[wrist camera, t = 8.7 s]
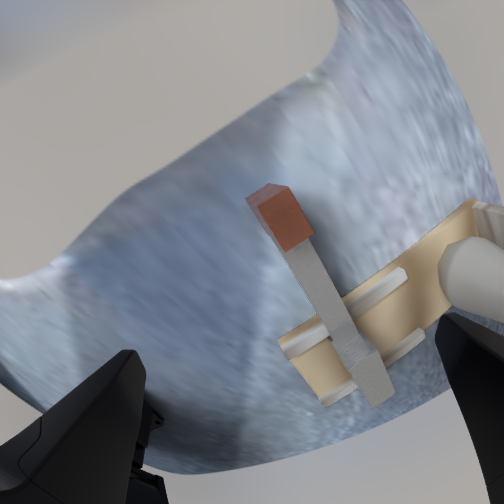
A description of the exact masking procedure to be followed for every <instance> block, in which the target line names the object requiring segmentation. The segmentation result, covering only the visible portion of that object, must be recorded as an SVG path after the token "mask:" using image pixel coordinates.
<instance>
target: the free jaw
mask: <svg viewBox="0 0 504 504" xmlns="http://www.w3.org/2000/svg"><path fill="white" fill-rule="evenodd" d="M245 200H246V201H247V203H248V204H249V206H250V207H251V209H252V211H253V212H254V214H255V215H256V217H257V219H258V220H259V222H260V223H261V225H262V227H263V228H264V230H265V231H266V233H267V234H268V235H269V236H270V237H271V239H272V240H273V242H274V244H275V245H276V247H277V249H278V250H279V252H280V253H281V255H282V257H283V258H284V260H285V262H286V263H287V265H288V266H289V268H290V270H291V271H292V273H293V275H294V276H295V278H296V280H297V281H298V283H299V285H300V286H301V288H302V289H303V291H304V293H305V294H306V296H307V298H308V299H309V301H310V303H311V304H312V306H313V308H314V309H315V311H316V313H317V314H318V316H319V318H320V320H321V321H322V323H323V325H324V326H325V328H326V330H327V331H328V333H329V336H328V337H327V339H328V340H329V342H330V344H331V345H332V347H333V349H334V350H335V352H336V354H337V355H338V357H339V359H340V360H341V362H342V364H343V365H344V367H345V369H346V370H347V372H348V374H349V376H350V377H351V379H352V380H353V382H354V383H355V385H356V386H357V388H358V389H359V391H360V392H361V394H362V395H363V397H364V398H365V400H366V401H367V403H368V404H369V406H370V407H371V409H374V408H375V407H377V406H378V405H380V404H381V403H383V402H384V401H386V400H387V399H388V398H390V397H391V396H393V395H394V394H395V393H396V392H395V389H394V387H393V385H392V382H391V380H390V378H389V375H388V373H387V371H386V368H385V366H384V364H383V361H382V359H381V357H380V355H379V352H378V350H377V349H376V348H375V347H374V346H373V345H372V343H371V342H370V341H369V340H368V339H367V338H366V337H365V336H364V335H363V333H362V332H361V331H360V330H359V329H358V328H357V327H356V326H355V325H354V323H353V321H352V319H351V317H350V315H349V313H348V311H347V309H346V307H345V305H344V303H343V301H342V299H341V297H340V295H339V294H338V292H337V290H336V288H335V286H334V284H333V282H332V280H331V278H330V277H329V275H328V273H327V271H326V269H325V267H324V266H323V264H322V262H321V260H320V258H319V256H318V255H317V253H316V251H315V249H314V247H313V246H312V244H311V242H310V240H309V239H308V238H309V237H310V236H312V235H313V234H315V232H314V231H313V229H312V227H311V225H310V223H309V222H308V220H307V218H306V216H305V215H304V213H303V211H302V209H301V208H300V206H299V204H298V202H297V201H296V199H295V197H294V195H293V194H292V192H291V190H290V189H289V187H287V186H282V185H276V184H270V183H268V184H267V185H265V186H264V187H262V188H260V189H259V190H257V191H256V192H254V193H252V194H251V195H249V196H248V197H246V198H245Z"/></svg>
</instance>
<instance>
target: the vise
mask: <svg viewBox="0 0 504 504" xmlns="http://www.w3.org/2000/svg"><path fill="white" fill-rule="evenodd" d="M471 236H473V237H482V238H486V239H488V240H489V241H491V242H492V243H494V244H496V245H497V246H499V247H500V248H502V249H504V207H502V206H498V205H493V204H489V203H484V202H479V201H478V199H474V198H469V199H468V200H467V201H466V202H464V203H463V204H462V205H461V206H460V207H459V208H458V209H456V210H455V211H454V212H453V213H452V214H451V215H450V216H448V217H447V218H446V219H445V220H444V221H442V222H441V223H440V224H439V225H438V226H437V227H435V228H434V229H433V230H432V231H430V232H429V233H428V234H427V235H426V236H424V237H423V238H422V239H421V240H419V241H418V242H417V243H416V244H414V245H413V246H412V247H411V248H409V249H408V250H407V251H405V252H404V253H403V254H402V255H400V256H399V257H398V258H396V259H395V260H394V261H392V262H391V263H390V264H388V265H387V266H386V267H384V268H383V269H382V270H380V271H379V272H378V273H376V274H375V275H374V276H372V277H371V278H369V279H368V280H367V281H365V282H364V283H362V284H361V285H360V286H358V287H357V288H355V289H354V290H353V291H351V292H350V293H348V294H347V295H345V296H344V297H342V298H341V299H342V301H343V303H344V305H345V307H346V309H347V311H348V313H349V315H350V317H351V319H352V321H353V323H354V325H355V326H356V327H357V328H358V329H359V330H360V331H361V332H362V333H363V335H364V336H365V337H366V338H367V339H368V340H369V341H370V342H371V343H372V345H373V346H374V347H375V348H376V349H377V350H378V352H379V355H380V357H381V359H382V361H383V364H384V366H385V368H387V367H389V366H390V365H392V364H393V363H394V362H396V361H397V360H398V359H400V358H401V357H402V356H403V355H405V354H406V353H407V352H409V351H410V350H411V349H412V348H414V347H415V346H416V345H417V344H419V343H420V342H421V341H422V340H423V339H425V338H426V336H425V333H424V330H425V329H426V328H427V327H429V326H430V325H431V324H432V323H433V322H434V321H436V320H437V319H438V318H439V317H440V316H441V315H442V314H443V313H445V312H446V311H447V310H448V309H449V308H450V307H451V306H452V304H451V303H450V302H449V301H448V300H447V298H446V296H445V294H444V292H443V290H442V288H441V286H440V285H439V277H438V268H437V264H438V262H439V260H440V258H441V256H442V254H443V252H444V250H445V248H446V246H447V244H451V243H455V242H457V241H460V240H463V239H465V238H468V237H471ZM328 336H329V333H328V331H327V330H326V328H325V326H324V325H323V323H322V321H321V320H320V318H319V316H318V314H317V315H316V316H314V317H312V318H311V319H309V320H308V321H306V322H305V323H303V324H302V325H300V326H298V327H297V328H295V329H294V330H292V331H290V332H289V333H287V334H286V335H284V336H282V337H281V338H279V339H277V340H278V342H279V345H280V347H281V349H282V352H283V354H284V355H285V356H286V358H287V359H288V360H291V362H292V363H293V364H294V366H295V367H296V368H297V370H298V371H299V372H300V374H301V375H302V376H303V378H304V379H305V380H306V382H307V383H308V384H309V386H310V387H311V388H312V389H313V391H314V392H315V393H316V395H317V396H318V398H319V400H320V402H321V404H322V405H323V406H324V407H325V408H326V407H328V406H330V405H331V404H333V403H335V402H336V401H338V400H340V399H341V398H343V397H344V396H346V395H348V394H349V393H351V392H352V391H354V390H355V389H357V386H356V385H355V383H354V382H353V380H352V379H351V377H350V376H349V374H348V372H347V370H346V369H345V367H344V365H343V364H342V362H341V360H340V359H339V357H338V355H337V354H336V352H335V350H334V349H333V347H332V345H331V344H330V342H329V340H328V339H327V337H328Z"/></svg>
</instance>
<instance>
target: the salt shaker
mask: <svg viewBox="0 0 504 504" xmlns="http://www.w3.org/2000/svg"><path fill="white" fill-rule="evenodd" d="M437 268H438V277H439V285H440V286H441V288H442V290H443V292H444V294H445V296H446V298H447V300H448V301H449V302H450V303H451V304H452V305H453V306H455V307H456V308H458V309H459V310H462V311H465V312H469V313H472V314H475V315H479V316H482V317H485V318H488V319H492V320H495V321H498V322H502V323H504V249H502V248H500V247H499V246H497V245H496V244H494V243H492V242H491V241H489V240H488V239H486V238H482V237H473V236H471V237H468V238H465V239H463V240H460V241H457V242H455V243H451V244H447V246H446V248H445V250H444V252H443V254H442V256H441V258H440V260H439V262H438V264H437Z"/></svg>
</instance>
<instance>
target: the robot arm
mask: <svg viewBox="0 0 504 504" xmlns="http://www.w3.org/2000/svg"><path fill="white" fill-rule="evenodd" d="M435 343H436V346H437V349H438V351H439V354H440V357H441V360H442V363H443V366H444V369H445V372H446V375H447V378H448V381H449V383H450V386H451V388H452V390H453V393H454V395H455V397H456V400H457V402H458V405H459V407H460V410H461V412H462V414H463V417H464V420H465V422H466V425H467V428H468V430H469V433H470V436H471V439H472V441H473V445H474V447H475V450H476V453H477V456H478V459H479V463H480V466H481V469H482V473H483V476H484V479H485V483H486V486H487V487H486V488H487V492H488V496H489V500H490V504H504V336H502V335H500V334H498V333H496V332H494V331H492V330H490V329H488V328H486V327H484V326H482V325H480V324H477V323H475V322H473V321H471V320H469V319H467V318H465V317H463V316H461V315H459V314H457V313H455V312H449V313H445V314H443V315H442V316H441V317H440V320H439V323H438V327H437V330H436V333H435ZM145 381H146V371H145V368H144V366H143V364H142V361H141V359H140V357H139V355H138V353H137V352H136V351H135V350H121V351H120V352H119V353H118V354H116V355H115V356H114V357H113V358H111V359H110V360H109V361H108V362H107V363H105V364H104V365H103V366H102V367H100V368H99V369H98V370H97V371H95V372H94V373H93V374H92V375H91V376H89V377H88V378H87V379H86V380H84V381H83V382H82V383H81V384H79V385H78V386H77V387H76V388H75V389H73V390H72V391H71V392H70V393H68V394H67V395H66V396H65V397H64V398H62V399H61V400H60V401H59V402H57V403H56V404H55V405H54V406H53V407H51V408H50V409H49V410H48V411H46V412H45V413H44V414H43V415H42V416H41V417H39V418H38V419H37V420H35V421H34V422H33V423H32V424H30V425H29V426H28V427H27V428H25V429H24V430H23V431H21V432H20V433H19V434H17V435H16V436H14V437H13V438H12V439H10V440H9V441H7V442H6V443H4V444H3V445H1V446H0V504H169V503H168V498H167V494H166V489H165V485H164V479H163V477H161V476H158V475H153V474H150V473H148V472H146V471H143V470H141V468H142V466H143V460H144V453H145V448H147V447H148V441H149V435H150V431H151V430H153V429H156V428H158V427H161V426H163V425H164V419H163V417H161V416H160V415H159V414H158V413H157V412H156V411H154V410H153V409H152V408H151V407H150V406H149V405H148V404H147V403H145V402H144V401H143V397H144V389H145Z"/></svg>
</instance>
